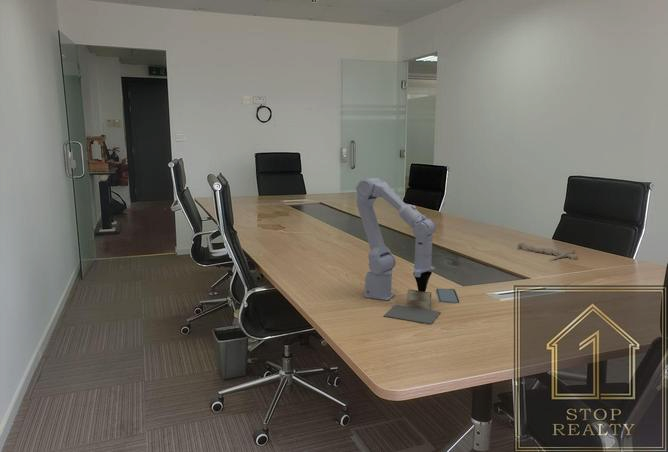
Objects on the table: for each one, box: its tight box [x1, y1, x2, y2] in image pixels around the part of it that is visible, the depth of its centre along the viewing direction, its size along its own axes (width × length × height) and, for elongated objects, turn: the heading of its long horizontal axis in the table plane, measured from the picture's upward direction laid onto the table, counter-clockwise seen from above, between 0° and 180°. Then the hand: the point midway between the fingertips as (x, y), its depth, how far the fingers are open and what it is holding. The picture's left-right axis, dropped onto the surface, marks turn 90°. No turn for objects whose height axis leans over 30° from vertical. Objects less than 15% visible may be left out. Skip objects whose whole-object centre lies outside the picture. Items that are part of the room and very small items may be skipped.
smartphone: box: [435, 288, 461, 304], centre depth 186 cm, size 7×1×15 cm
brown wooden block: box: [406, 288, 432, 310], centre depth 172 cm, size 8×2×6 cm, turn 64°
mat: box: [383, 304, 442, 325], centre depth 166 cm, size 16×12×1 cm
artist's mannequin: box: [517, 242, 579, 262], centre depth 254 cm, size 28×4×30 cm
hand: (421, 291), depth 175 cm, fingers closed
